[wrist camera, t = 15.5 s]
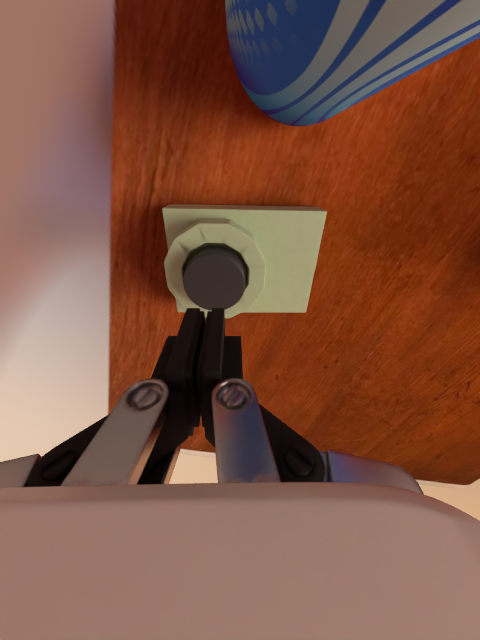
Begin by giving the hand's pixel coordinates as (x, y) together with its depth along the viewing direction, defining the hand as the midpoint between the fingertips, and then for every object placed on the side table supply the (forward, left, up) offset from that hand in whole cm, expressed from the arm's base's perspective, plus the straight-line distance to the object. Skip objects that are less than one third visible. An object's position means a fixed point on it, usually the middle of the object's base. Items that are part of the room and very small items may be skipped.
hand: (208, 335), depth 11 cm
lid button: (0, 0, -7) cm, 7 cm away
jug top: (+2, 0, -10) cm, 10 cm away
